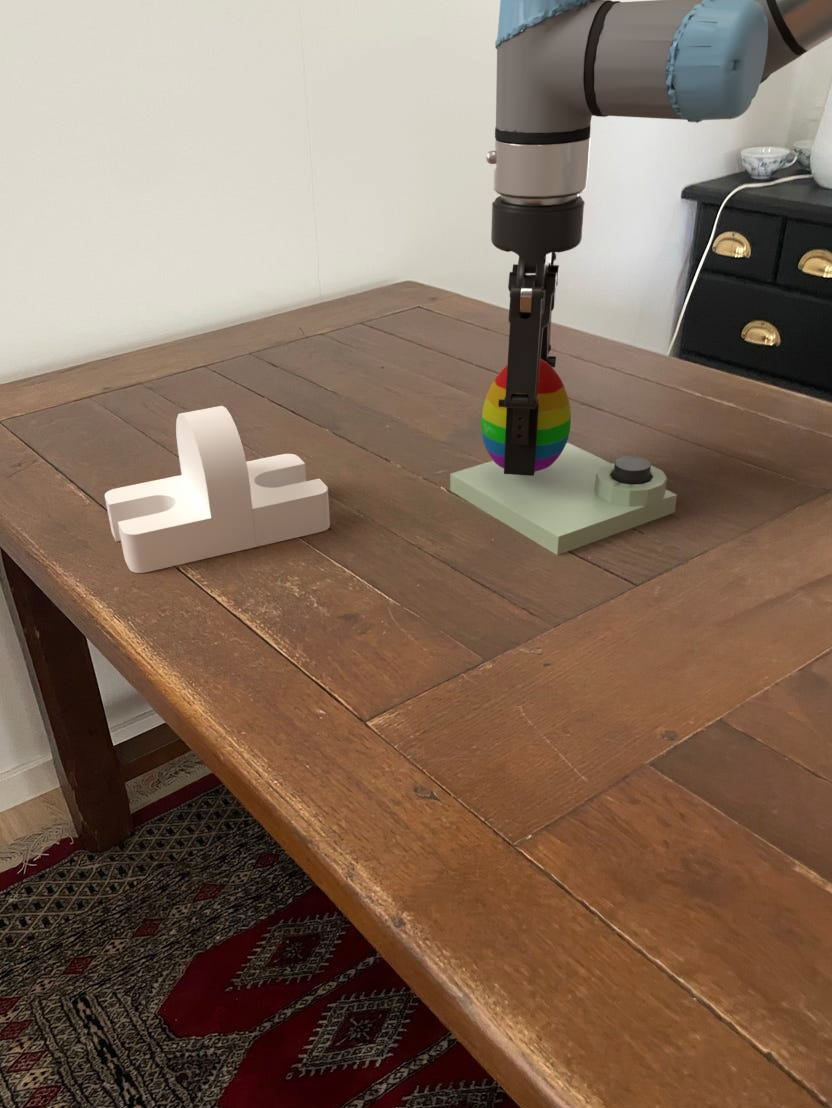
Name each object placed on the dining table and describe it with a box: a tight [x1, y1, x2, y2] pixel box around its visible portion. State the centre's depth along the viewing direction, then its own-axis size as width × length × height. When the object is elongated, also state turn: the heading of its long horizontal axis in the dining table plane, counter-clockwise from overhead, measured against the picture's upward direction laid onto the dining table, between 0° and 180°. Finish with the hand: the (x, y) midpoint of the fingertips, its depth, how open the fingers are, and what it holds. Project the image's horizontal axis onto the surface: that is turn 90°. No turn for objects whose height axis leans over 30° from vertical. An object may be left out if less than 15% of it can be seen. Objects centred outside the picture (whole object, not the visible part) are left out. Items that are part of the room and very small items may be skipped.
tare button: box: [613, 456, 652, 485], centre depth 93 cm, size 3×3×2 cm
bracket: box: [104, 405, 331, 574], centre depth 93 cm, size 19×10×11 cm, turn 113°
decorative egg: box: [480, 359, 572, 471], centre depth 94 cm, size 8×8×10 cm
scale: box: [449, 442, 678, 556], centre depth 97 cm, size 16×14×4 cm
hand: (524, 453), depth 96 cm, fingers closed on decorative egg, 8 cm apart
